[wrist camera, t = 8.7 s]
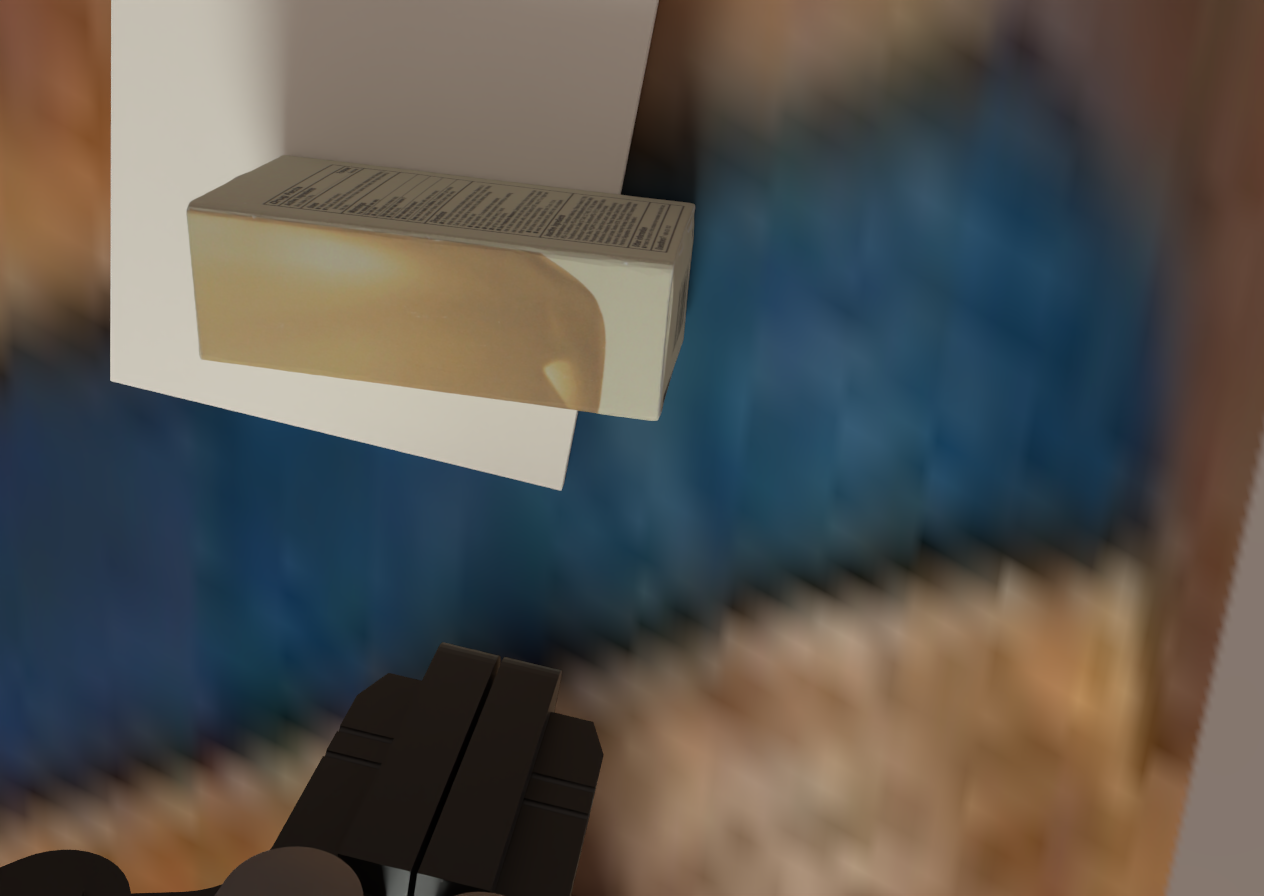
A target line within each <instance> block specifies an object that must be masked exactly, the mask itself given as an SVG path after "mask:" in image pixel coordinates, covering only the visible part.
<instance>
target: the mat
mask: <svg viewBox="0 0 1264 896" xmlns="http://www.w3.org/2000/svg"><path fill="white" fill-rule="evenodd" d="M658 3H659V0H111V331H110V381H113V382H117V383H121V384H125V385H129V386H133V387H138V388H142V389H146V390H150V391H154V392H158V393H162V394H166V395H170V396H174V397H179V398H183V399H187V400H191V401H195V402H199V403H203V404H207V405H211V406H216V407H220V408H224V409H228V410H232V411H236V412H240V413H244V414H248V415H253V416H257V417H261V418H265V419H269V420H273V421H277V422H281V423H285V424H290V425H294V426H298V427H302V428H306V429H310V430H314V431H318V432H322V433H326V434H331V435H335V436H339V437H343V438H347V439H351V440H355V441H359V442H363V443H368V444H372V445H376V446H380V447H384V448H388V449H392V450H396V451H400V452H405V453H409V454H413V455H417V456H421V457H425V458H429V459H433V460H437V461H441V462H446V463H450V464H454V465H458V466H462V467H466V468H470V469H474V470H478V471H483V472H487V473H491V474H495V475H499V476H503V477H507V478H511V479H515V480H520V481H524V482H528V483H532V484H536V485H540V486H544V487H548V488H552V489H556V490H562V488H563V485H564V481H565V476H566V471H567V465H568V460H569V455H570V450H571V445H572V440H573V435H574V430H575V425H576V420H577V415H578V410H571V409H563V408H556V407H549V406H542V405H535V404H528V403H520V402H513V401H505V400H498V399H490V398H483V397H475V396H468V395H460V394H453V393H445V392H438V391H431V390H424V389H416V388H409V387H402V386H395V385H388V384H380V383H372V382H365V381H357V380H350V379H342V378H334V377H328V376H321V375H311V374H305V373H297V372H289V371H282V370H276V369H269V368H261V367H254V366H247V365H239V364H231V363H222V362H216V361H209V360H202V359H200V356H199V343H198V331H197V321H196V309H195V299H194V286H193V277H192V267H191V255H190V245H189V234H188V224H187V216H186V210H187V207H188V205H189V202H191V201H192V200H194V199H196V198H198V197H200V196H202V195H204V194H206V193H208V192H210V191H212V190H214V189H216V188H218V187H220V186H222V185H224V184H226V183H227V182H229V181H231V180H232V179H233V178H235V177H237V176H239V175H242V174H244V173H247V172H250V171H252V170H254V169H256V168H258V167H260V166H262V165H264V164H266V163H268V162H270V161H272V160H274V159H276V158H279V157H280V156H282V155H290V156H296V157H305V158H314V159H323V160H332V161H340V162H349V163H358V164H366V165H374V166H382V167H391V168H399V169H407V170H416V171H424V172H433V173H441V174H449V175H457V176H465V177H474V178H482V179H490V180H499V181H508V182H516V183H524V184H533V185H542V186H550V187H558V188H566V189H575V190H583V191H592V192H601V193H610V194H619V195H621V191H622V186H623V181H624V176H625V171H626V166H627V161H628V155H629V150H630V145H631V140H632V135H633V130H634V125H635V120H636V115H637V110H638V105H639V100H640V94H641V89H642V84H643V79H644V74H645V69H646V64H647V59H648V54H649V49H650V44H651V39H652V33H653V28H654V23H655V18H656V13H657V8H658Z"/></svg>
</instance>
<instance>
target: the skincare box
mask: <svg viewBox="0 0 1264 896" xmlns="http://www.w3.org/2000/svg"><path fill="white" fill-rule="evenodd" d="M694 212H695V204H692V203H686V202H678V201H669V200H660V199H652V198H643V197H635V196H627V195H619V194H610V193H601V192H592V191H583V190H575V189H566V188H558V187H550V186H542V185H533V184H524V183H516V182H508V181H499V180H490V179H482V178H474V177H465V176H457V175H449V174H441V173H433V172H424V171H416V170H407V169H399V168H391V167H382V166H374V165H366V164H358V163H349V162H340V161H332V160H323V159H314V158H305V157H296V156H290V155H282V156H280V157H279V158H276V159H274V160H272V161H270V162H268V163H266V164H264V165H262V166H260V167H258V168H256V169H254V170H252V171H250V172H247V173H244V174H242V175H239V176H237V177H235V178H233V179H232V180H231V181H229V182H227V183H226V184H224V185H222V186H220V187H218V188H216V189H214V190H212V191H210V192H208V193H206V194H204V195H202V196H200V197H198V198H196V199H194V200H192V201H191V202H189V205H188V207H187V210H186V216H187V224H188V234H189V245H190V255H191V267H192V277H193V286H194V299H195V309H196V321H197V331H198V343H199V356H200V359H202V360H209V361H216V362H222V363H231V364H239V365H247V366H254V367H261V368H269V369H276V370H282V371H289V372H297V373H305V374H311V375H321V376H328V377H334V378H342V379H350V380H357V381H365V382H372V383H380V384H388V385H395V386H402V387H409V388H416V389H424V390H431V391H438V392H445V393H453V394H460V395H468V396H475V397H483V398H490V399H498V400H505V401H513V402H520V403H528V404H535V405H542V406H549V407H556V408H563V409H571V410H578V411H585V412H593V413H598V414H605V415H612V416H619V417H627V418H635V419H642V420H650V421H657V420H658V419H659V417H660V415H661V412H662V408H663V403H664V400H665V396H666V393H667V389H668V386H669V382H670V379H671V375H672V372H673V368H674V365H675V362H676V360H677V357H678V354H679V351H680V348H681V345H682V343H683V339H684V328H685V317H686V304H687V293H688V283H689V273H690V265H691V256H692V247H693V238H694Z"/></svg>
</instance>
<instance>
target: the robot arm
mask: <svg viewBox="0 0 1264 896" xmlns="http://www.w3.org/2000/svg"><path fill="white" fill-rule="evenodd" d="M500 661H501V659H500V656H498V655H494V654H489V653H485V652H481V651H477V650H473V649H469V648H464V647H460V646H456V645H452V644H448V643H441V645H440V646H439V648H438V650H437V652H436V654H435V656H434V658H433V660H432V662H431V664H430V666H429V668H428V670H427V672H426V674H425V676H424V678H423V680H422V681H420V680H416V679H411V678H407V677H403V676H399V675H395V674H391V673H388V674H387V675H385V676H384V677H382V678H381V679H380V680H378V681H377V682H375V683H374V684H373V685H371V686H370V687H368V688H367V689H366V690H364V691H363V692H361V693H360V694H358V695H357V697H356V698H355V700H354V702H353V704H352V706H351V707H350V709H349V711H348V713H347V715H346V716H345V718H344V720H343V722H342V723H341V725H340V729H339V732H338V731H337V732H336V734H335V736H334V738H333V740H332V741H331V743H330V745H329V747H328V748H327V751H326V755H325V757H324V756H323V757H322V759H321V761H320V763H319V765H318V766H317V768H316V770H315V772H314V773H313V775H312V777H311V779H310V781H309V782H308V784H307V786H306V788H305V790H304V791H303V793H302V795H301V797H300V799H299V800H298V802H297V804H296V806H295V807H294V809H293V811H292V813H291V815H290V816H289V818H288V820H287V822H286V824H285V825H284V827H283V829H282V831H281V832H280V834H279V836H278V838H277V840H276V841H275V843H274V845H273V846H272V848H271V849H270V850H269V851H265V852H262V853H260V854H258V855H256V856H253V857H251V858H250V859H248V860H246V861H245V862H243V863H242V864H241V865H239V866H238V867H237V868H236V869H235V870H233V872H232V873H231V874H230V875H229V876H228V877H227V879H226V880H225V881H224V883H223V884H222V885H219V886H216V887H212V888H208V889H203V890H198V891H189V892H168V893H135V894H131V891H130V887H129V883H128V881H127V879H126V877H125V875H124V873H123V872H122V871H121V870H120V869H119V867H118V866H116V865H115V864H114V863H112V862H111V861H110V860H108V859H106V858H104V857H102V856H100V855H97V854H93V853H90V852H85V851H79V850H56V851H48V852H43V853H38V854H34V855H31V856H28V857H26V858H23V859H20V860H17V861H15V862H13V863H10V864H8V865H5V866H3V867H0V896H571V893H572V888H573V884H574V880H575V876H576V871H577V867H578V863H579V859H580V855H581V850H582V846H583V842H584V837H585V833H586V829H587V824H588V820H589V816H590V811H591V807H592V803H593V798H594V794H595V789H596V785H597V781H598V776H599V772H600V768H601V763H602V759H603V752H602V749H601V745H600V742H599V739H598V736H597V733H596V729H595V726H594V723H593V722H591V721H586V720H582V719H578V718H574V717H570V716H566V715H562V714H557V713H554V711H555V706H556V701H557V696H558V691H559V686H560V681H561V675H562V671H561V670H557V669H553V668H549V667H545V666H540V665H536V664H532V663H528V662H524V661H520V660H515V659H511V658H507V657H504V658H503V660H502V662H501V664H500Z"/></svg>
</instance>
